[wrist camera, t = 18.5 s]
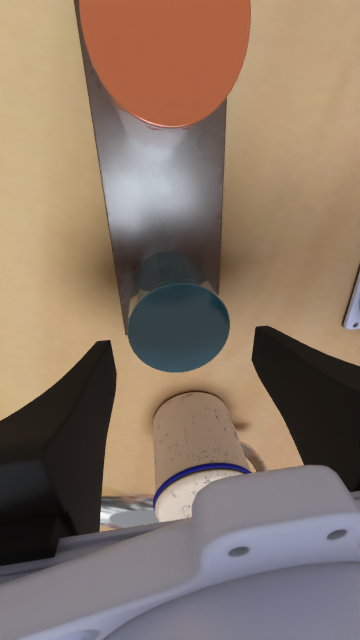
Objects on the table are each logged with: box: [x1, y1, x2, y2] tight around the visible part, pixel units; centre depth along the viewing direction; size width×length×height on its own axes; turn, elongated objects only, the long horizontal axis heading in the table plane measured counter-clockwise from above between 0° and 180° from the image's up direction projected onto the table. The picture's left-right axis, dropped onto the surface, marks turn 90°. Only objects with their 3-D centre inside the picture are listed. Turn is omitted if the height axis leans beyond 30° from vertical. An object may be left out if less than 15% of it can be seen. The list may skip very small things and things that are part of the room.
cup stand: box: [74, 0, 227, 335], centre depth 16 cm, size 8×20×6 cm, turn 2°
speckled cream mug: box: [153, 392, 267, 522], centre depth 25 cm, size 12×9×12 cm
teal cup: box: [127, 251, 230, 372], centre depth 17 cm, size 6×6×7 cm
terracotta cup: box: [79, 0, 251, 149], centre depth 12 cm, size 6×6×7 cm
